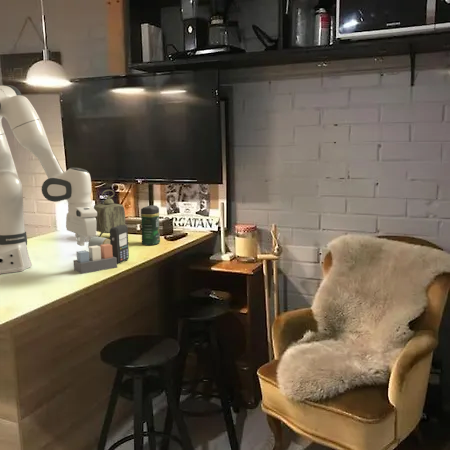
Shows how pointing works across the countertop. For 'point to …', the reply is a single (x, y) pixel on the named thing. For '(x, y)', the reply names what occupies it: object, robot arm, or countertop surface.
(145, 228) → the coffee jar
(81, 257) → the key blue
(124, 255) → the card reader
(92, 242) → the ceramic mug
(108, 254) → the key rust
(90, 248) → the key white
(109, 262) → the grey rectangular tray
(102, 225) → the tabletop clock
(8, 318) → the countertop surface
